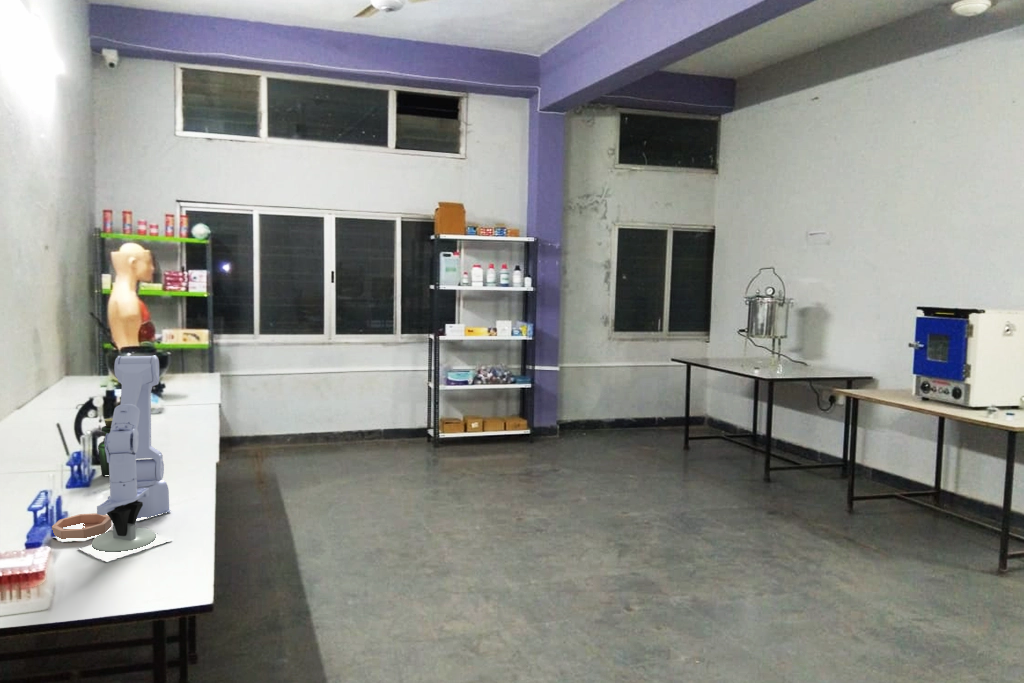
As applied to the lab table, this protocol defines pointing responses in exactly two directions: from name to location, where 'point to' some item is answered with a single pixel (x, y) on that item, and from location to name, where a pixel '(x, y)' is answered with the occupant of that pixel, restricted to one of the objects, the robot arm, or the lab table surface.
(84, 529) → the bowl
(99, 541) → the lid
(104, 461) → the potion bottle
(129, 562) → the lab table surface
